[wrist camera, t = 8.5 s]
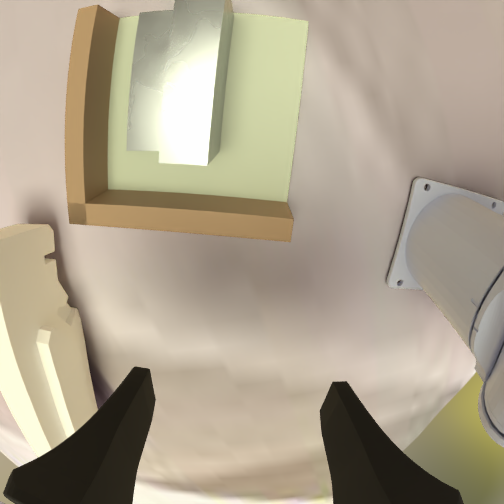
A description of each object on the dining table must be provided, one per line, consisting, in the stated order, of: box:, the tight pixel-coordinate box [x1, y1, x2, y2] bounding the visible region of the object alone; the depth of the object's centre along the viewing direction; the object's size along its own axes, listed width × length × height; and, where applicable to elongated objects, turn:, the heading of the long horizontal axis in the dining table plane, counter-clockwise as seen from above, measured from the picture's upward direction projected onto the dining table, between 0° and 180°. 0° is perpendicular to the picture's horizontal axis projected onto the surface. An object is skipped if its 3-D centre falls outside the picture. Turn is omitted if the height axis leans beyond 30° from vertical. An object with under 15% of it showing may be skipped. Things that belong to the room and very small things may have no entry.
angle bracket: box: [126, 0, 234, 166], centre depth 12 cm, size 8×5×5 cm, turn 174°
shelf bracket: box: [0, 224, 98, 457], centre depth 20 cm, size 6×25×13 cm, turn 177°
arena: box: [65, 5, 309, 242], centre depth 14 cm, size 12×12×4 cm
